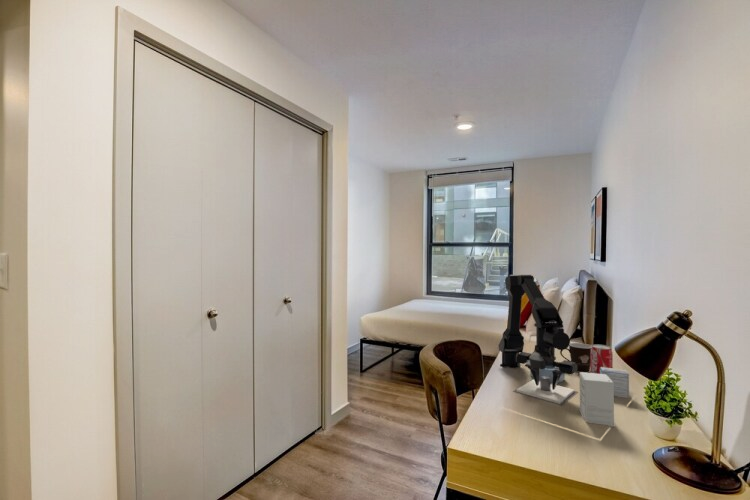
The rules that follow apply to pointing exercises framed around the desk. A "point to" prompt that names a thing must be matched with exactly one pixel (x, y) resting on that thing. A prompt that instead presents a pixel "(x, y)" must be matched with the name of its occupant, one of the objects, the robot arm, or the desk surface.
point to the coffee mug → (580, 355)
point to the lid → (546, 390)
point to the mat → (551, 401)
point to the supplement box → (597, 398)
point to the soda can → (600, 358)
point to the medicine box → (618, 380)
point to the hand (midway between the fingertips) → (545, 387)
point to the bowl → (549, 373)
